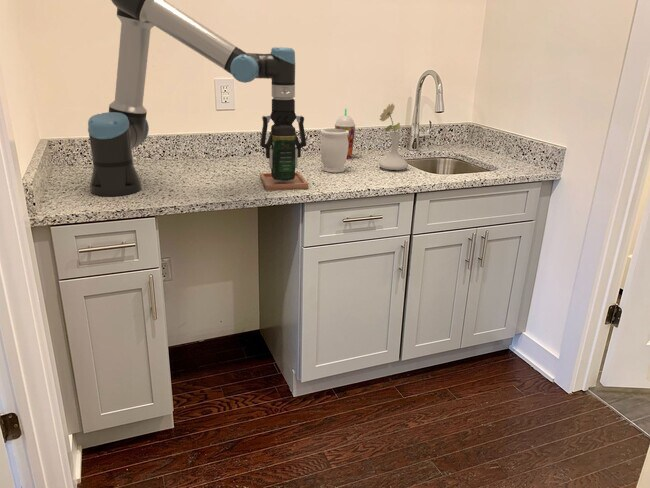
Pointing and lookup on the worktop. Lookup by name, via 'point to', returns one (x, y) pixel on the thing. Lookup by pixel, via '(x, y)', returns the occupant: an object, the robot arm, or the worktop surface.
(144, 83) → the robot arm
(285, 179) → the coffee jar
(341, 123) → the smoothie
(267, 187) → the tray
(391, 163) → the flower in vase
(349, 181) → the worktop surface
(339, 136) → the jar
